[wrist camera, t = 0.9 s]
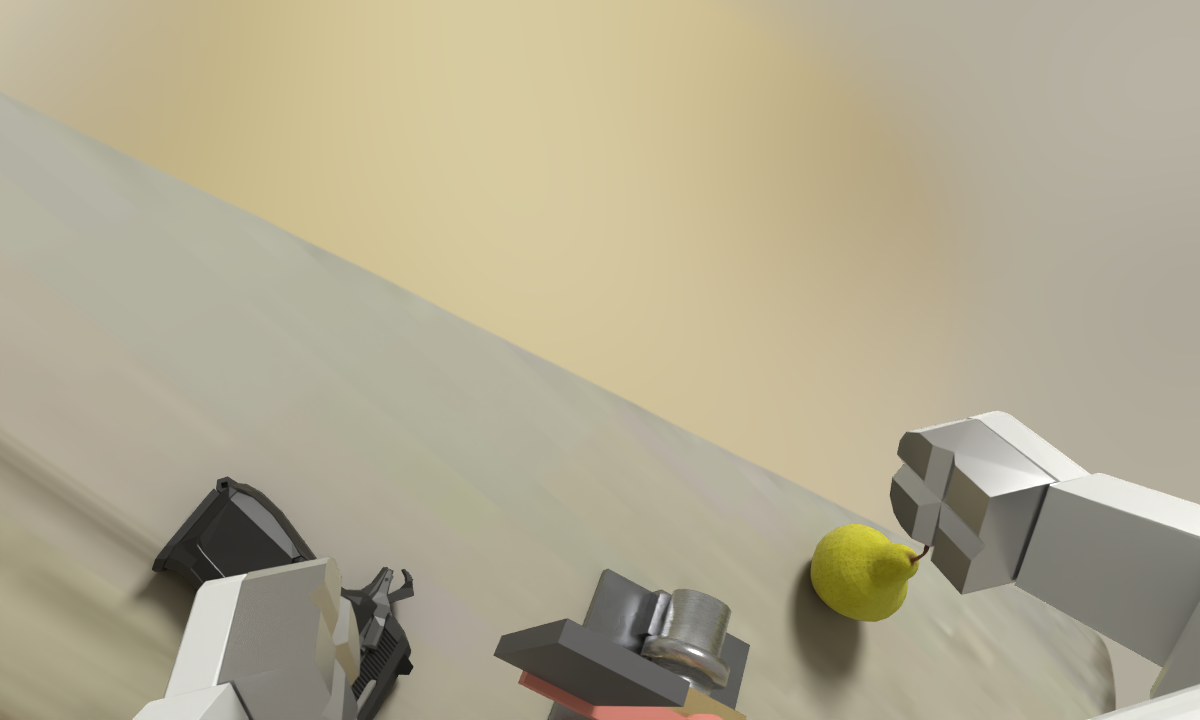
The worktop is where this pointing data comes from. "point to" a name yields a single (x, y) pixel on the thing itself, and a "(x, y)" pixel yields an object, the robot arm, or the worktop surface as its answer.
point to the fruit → (862, 572)
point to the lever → (594, 674)
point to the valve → (671, 641)
